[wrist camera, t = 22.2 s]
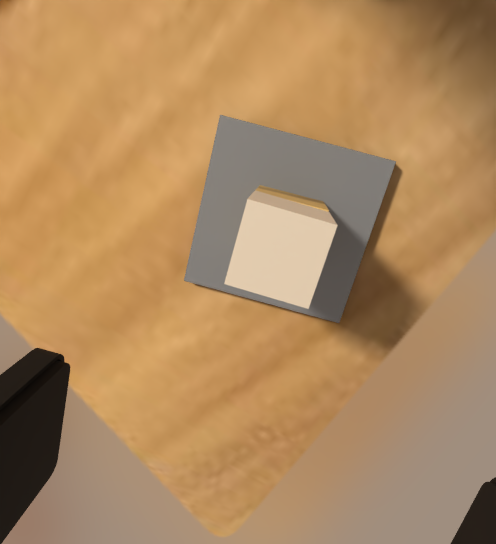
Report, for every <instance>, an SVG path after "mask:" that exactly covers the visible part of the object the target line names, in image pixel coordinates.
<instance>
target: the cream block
mask: <svg viewBox="0 0 496 544" xmlns="http://www.w3.org/2000/svg"><path fill="white" fill-rule="evenodd" d="M337 226H338V225H337V224H336V222H335V220H334V219H333V217H332V216H331V214H330V212H328V211H324V210H321V209H317V208H314V207H311V206H307V205H304V204H300V203H297V202H293V201H290V200H287V199H283V198H280V197H276V196H273V195H270V194H266V193H263V192H259V191H256V190H255V191H254V192H253V193H252V194H251V195H250V197H249V198H248V199H247V202H246V206H245V210H244V213H243V217H242V221H241V224H240V228H239V232H238V235H237V239H236V242H235V246H234V250H233V253H232V257H231V261H230V264H229V268H228V272H227V275H226V279H225V283H224V284H226V285H229V286H233V287H236V288H239V289H243V290H246V291H249V292H253V293H256V294H260V295H263V296H266V297H270V298H273V299H276V300H280V301H283V302H287V303H290V304H293V305H297V306H300V307H303V308H307V309H309V306H310V303H311V300H312V297H313V295H314V292H315V289H316V286H317V283H318V280H319V277H320V274H321V272H322V269H323V266H324V263H325V260H326V257H327V254H328V251H329V249H330V246H331V243H332V240H333V237H334V234H335V231H336V228H337Z"/></svg>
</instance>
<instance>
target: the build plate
mask: <svg viewBox="0 0 496 544" xmlns="http://www.w3.org/2000/svg"><path fill="white" fill-rule="evenodd" d="M395 163H396V161H392V160H389V159H385V158H381V157H377V156H374V155H370V154H366V153H362V152H358V151H355V150H351V149H347V148H343V147H340V146H336V145H332V144H328V143H325V142H321V141H317V140H313V139H310V138H306V137H302V136H298V135H295V134H291V133H287V132H283V131H279V130H276V129H272V128H268V127H264V126H261V125H257V124H253V123H249V122H246V121H242V120H238V119H234V118H231V117H227V116H223V115H220V118H219V123H218V127H217V132H216V136H215V141H214V146H213V150H212V155H211V159H210V164H209V169H208V173H207V178H206V182H205V187H204V191H203V196H202V201H201V205H200V210H199V214H198V219H197V223H196V228H195V233H194V237H193V242H192V246H191V251H190V256H189V260H188V265H187V269H186V274H185V278H184V281H187V282H191V283H195V284H198V285H202V286H206V287H209V288H213V289H217V290H220V291H224V292H227V293H231V294H235V295H238V296H242V297H246V298H249V299H253V300H256V301H260V302H264V303H267V304H271V305H275V306H278V307H282V308H286V309H289V310H293V311H296V312H300V313H304V314H307V315H311V316H315V317H318V318H322V319H326V320H329V321H333V322H336V323H339V322H340V319H341V317H342V314H343V311H344V308H345V305H346V302H347V300H348V297H349V294H350V291H351V288H352V285H353V282H354V280H355V277H356V274H357V271H358V268H359V265H360V263H361V260H362V257H363V254H364V251H365V248H366V245H367V243H368V240H369V237H370V234H371V231H372V228H373V226H374V223H375V220H376V217H377V214H378V211H379V208H380V206H381V203H382V200H383V197H384V194H385V191H386V189H387V186H388V183H389V180H390V177H391V174H392V171H393V169H394V166H395ZM259 185H262V186H266V187H270V188H273V189H277V190H281V191H285V192H289V193H293V194H297V195H300V196H304V197H308V198H312V199H316V200H320V201H323V202H324V203H325V205H326V206H327V208H328V209H329V212H330V214H331V216H332V217H333V219H334V220H335V222H336V224H337V225H338V226H337V228H336V231H335V234H334V237H333V240H332V243H331V246H330V249H329V251H328V254H327V257H326V260H325V263H324V266H323V269H322V272H321V274H320V277H319V280H318V283H317V286H316V289H315V292H314V295H313V297H312V300H311V303H310V306H309V309H307V308H303V307H300V306H297V305H293V304H290V303H287V302H283V301H280V300H276V299H273V298H270V297H266V296H263V295H260V294H256V293H253V292H249V291H246V290H243V289H239V288H236V287H233V286H229V285H226V284H224V283H225V279H226V275H227V272H228V268H229V264H230V261H231V257H232V253H233V250H234V246H235V242H236V239H237V235H238V232H239V228H240V224H241V221H242V217H243V213H244V210H245V206H246V202H247V199H248V198H249V197H250V195H251V194H252V193H253V192H254V191H255V190H256V189H257V188H258V187H259Z"/></svg>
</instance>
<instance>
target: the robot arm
mask: <svg viewBox="0 0 496 544" xmlns="http://www.w3.org/2000/svg"><path fill="white" fill-rule="evenodd" d="M69 374H70V365H69V364H68V363H65V362H64V356H63V355H61V354H58V353H54V352H51V351H47V350H44V349H40V348H35V349H34V350H32V351H31V352H29V353H28V354H27V355H26V356H25V357H23V358H22V359H21V360H19V361H18V362H17V363H15V364H14V365H13V366H12V367H10V368H9V369H8V370H6V371H5V372H4V373H3V374H1V375H0V544H1V543H2V542H3V540H4V539H5V538H6V537H7V535H8V534H9V532H10V531H11V530H12V528H13V527H14V526H15V524H16V523H17V522H18V520H19V519H20V517H21V516H22V515H23V513H24V512H25V511H26V509H27V508H28V507H29V505H30V504H31V503H32V501H33V500H34V498H35V497H36V496H37V494H38V493H39V491H40V490H41V489H42V487H43V486H44V485H45V483H46V482H47V481H48V479H49V478H50V476H51V475H52V473H53V471H54V469H55V467H56V463H57V460H58V453H59V446H60V439H61V431H62V424H63V416H64V410H65V402H66V396H67V388H68V381H69ZM451 544H496V478H494V479H492V480H491V481H490V482H485V483H484V484H483V485H482V487H481V488H480V490H479V492H478V494H477V496H476V498H475V500H474V501H473V503H472V505H471V507H470V509H469V511H468V513H467V515H466V516H465V518H464V520H463V522H462V524H461V526H460V528H459V529H458V531H457V533H456V535H455V537H454V539H453V540H452V542H451Z"/></svg>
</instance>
